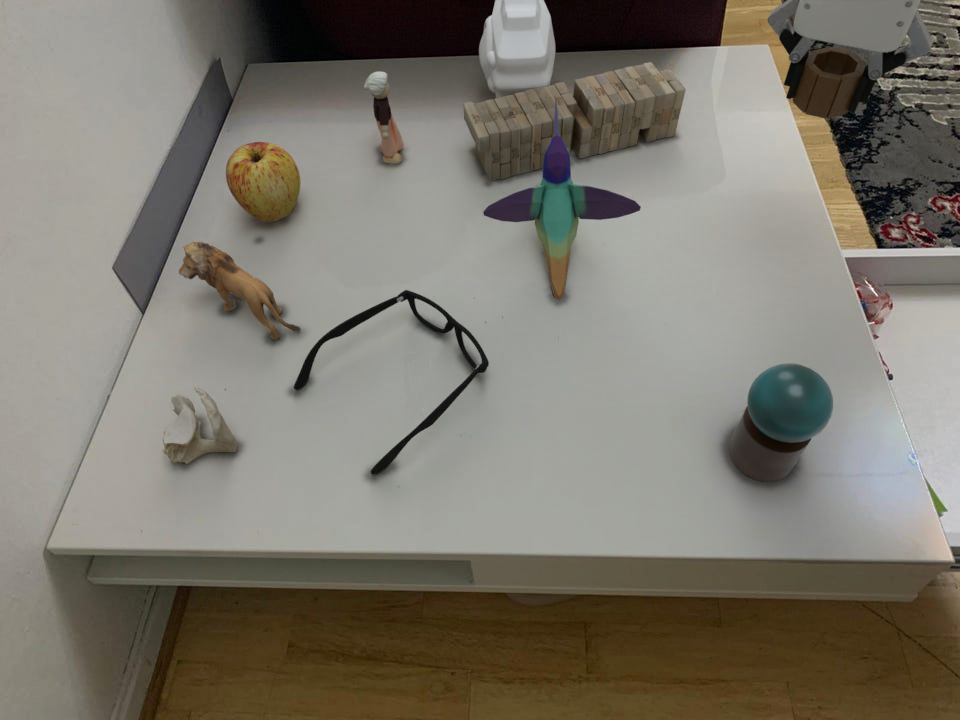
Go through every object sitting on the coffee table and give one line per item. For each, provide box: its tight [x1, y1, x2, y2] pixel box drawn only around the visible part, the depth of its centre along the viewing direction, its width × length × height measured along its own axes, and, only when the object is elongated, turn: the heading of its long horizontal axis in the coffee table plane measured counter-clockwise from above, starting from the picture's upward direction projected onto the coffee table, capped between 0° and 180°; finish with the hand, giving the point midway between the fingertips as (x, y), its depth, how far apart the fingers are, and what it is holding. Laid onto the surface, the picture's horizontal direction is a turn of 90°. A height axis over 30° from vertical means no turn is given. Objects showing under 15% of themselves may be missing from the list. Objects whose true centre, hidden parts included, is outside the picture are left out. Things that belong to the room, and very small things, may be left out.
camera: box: [478, 0, 556, 98], centre depth 104 cm, size 11×18×16 cm, turn 0°
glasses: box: [293, 289, 490, 476], centre depth 79 cm, size 17×18×5 cm
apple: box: [225, 141, 301, 222], centre depth 94 cm, size 9×9×10 cm
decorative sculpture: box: [482, 98, 642, 301], centre depth 86 cm, size 17×18×15 cm
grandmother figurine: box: [363, 71, 404, 165], centre depth 99 cm, size 8×4×13 cm, turn 22°
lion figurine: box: [178, 241, 302, 341], centre depth 84 cm, size 15×5×9 cm, turn 62°
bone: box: [162, 386, 238, 465], centre depth 75 cm, size 9×6×10 cm
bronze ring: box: [792, 46, 868, 119], centre depth 75 cm, size 6×6×4 cm
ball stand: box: [728, 362, 834, 483], centre depth 68 cm, size 7×7×13 cm
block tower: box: [463, 61, 687, 181], centre depth 100 cm, size 8×8×29 cm
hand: (823, 97), depth 76 cm, fingers closed on bronze ring, 5 cm apart
